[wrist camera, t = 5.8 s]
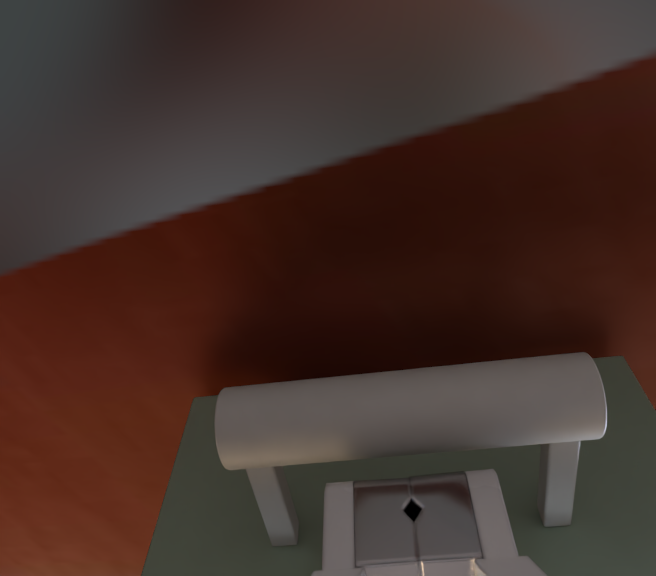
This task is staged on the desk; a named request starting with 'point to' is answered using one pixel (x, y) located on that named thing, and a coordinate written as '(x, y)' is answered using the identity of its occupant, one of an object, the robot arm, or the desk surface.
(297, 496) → the drawer
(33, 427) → the desk surface
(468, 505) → the robot arm
